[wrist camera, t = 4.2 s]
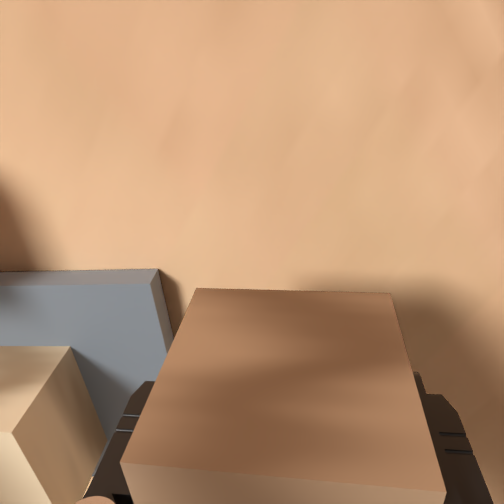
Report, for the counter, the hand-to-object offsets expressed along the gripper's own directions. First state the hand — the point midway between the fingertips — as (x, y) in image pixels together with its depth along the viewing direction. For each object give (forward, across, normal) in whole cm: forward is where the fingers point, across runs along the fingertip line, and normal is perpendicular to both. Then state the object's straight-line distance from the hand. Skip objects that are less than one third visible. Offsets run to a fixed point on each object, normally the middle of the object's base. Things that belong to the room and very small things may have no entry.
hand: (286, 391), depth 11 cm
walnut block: (+1, 0, 0) cm, 1 cm away
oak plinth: (+5, +12, +6) cm, 14 cm away
